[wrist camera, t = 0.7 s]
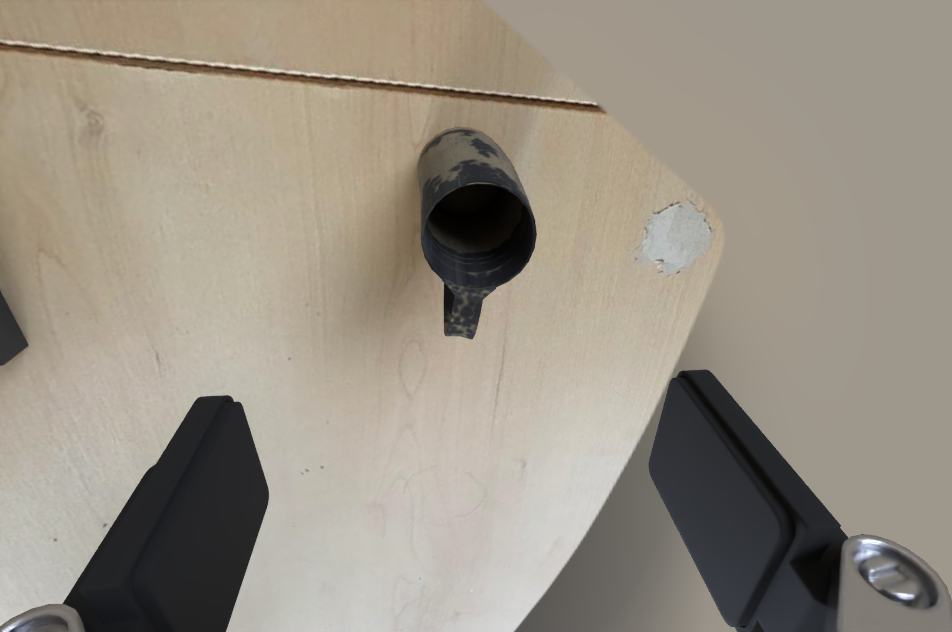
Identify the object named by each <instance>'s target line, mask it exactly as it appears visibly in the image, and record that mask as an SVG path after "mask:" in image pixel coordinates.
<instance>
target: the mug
mask: <svg viewBox="0 0 952 632" xmlns="http://www.w3.org/2000/svg"><path fill="white" fill-rule="evenodd" d="M418 182H419V189H420V204H421V245H422V249H423V252H424V256H425V259H426V260H427V262H428V264H429V265H430V267H431V269H432V270H433V271H434V272H435V273H436V274H437V275H438V276H439V277H440V278H441V279H442V281H443V282H444V334H445V336H461V337H465V338H468V339H473V337H474V335H475V333H476V329H477V326H478V322H479V317H480V313H481V307H482V301H483V299H484V298H485V297H486V296H488V295H489V294H490V293H491V292H493V291H494V290H495V289H496V287H498V286H500V285H502V284H504V283H506V282H509V281H510V280H511V279H512V278H514V277H515V276H516V275H518V274H519V273H520V272H521V271H522V269H523V268H524V267H525V266H526V264H527V263H528V262H529V260H530V257H531V255H532V253H533V251H534V248H535V242H536V235H537V233H536V225H535V219H534V216H533V213H532V210H531V206H530V203H529V200H528V198H527V195H526V193H525V191H524V188H523V186H522V184H521V182H520V180H519V177H518V175H517V173H516V171H515V169H514V166H513V165H512V163H511V162H510V160H509V159H508V157H507V156H506V154H505V153H504V152H503V151H502V149H501V148H500V147H499V146H498V145H497V144H496V143H495V142H494V141H493V140H492V139H491V138H490V137H488V136H487V135H486V134H484V133H483V132H481V131H478V130H475V129H473V128H465V127H457V128H452V129H447V130H445V131H443V132H441V133H440V134H438V135H436V136H435V137H434V138H433V139H432V140H431V141H430V142H429V143H428V144H427V145H426V147H425V148H424V150H423V152H422V153H421V156H420V160H419V163H418Z"/></svg>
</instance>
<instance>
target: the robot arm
mask: <svg viewBox="0 0 952 632" xmlns="http://www.w3.org/2000/svg"><path fill="white" fill-rule="evenodd" d="M649 472H650V475H651V478H652V480H653V482H654V484H655V486H656V488H657V490H658V492H659V494H660V496H661V498H662V500H663V502H664V504H665V506H666V508H667V509H668V511H669V513H670V515H671V517H672V519H673V521H674V523H675V525H676V527H677V529H678V531H679V533H680V535H681V537H682V539H683V541H684V543H685V545H686V546H687V549H688V551H689V552H690V554H691V556H692V558H693V560H694V562H695V564H696V566H697V568H698V570H699V572H700V574H701V576H702V578H703V580H704V582H705V584H706V586H707V588H708V590H709V592H710V593H711V596H712V598H713V599H714V601H715V603H716V605H717V607H718V609H719V611H720V613H721V615H722V617H723V619H724V620H725V622H726V623H727V624H728V625H729V626H731V627H735V628H736V630H737V632H952V601H951V597H950V594H949V592H948V589H947V586H946V585H945V583H944V582H943V581H942V579H941V578H940V576H939V575H938V574H937V572H936V571H934V570H933V569H932V568H931V567H930V566H929V565H928V564H927V563H926V562H925V561H924V560H923V559H921V558H920V557H918V556H917V555H916V554H914V553H913V552H911V551H910V550H909V549H907V548H905V547H903V546H901V545H899V544H897V543H895V542H893V541H890V540H888V539H885V538H882V537H878V536H872V535H864V534H861V535H856V536H852V537H850V538H848V537H847V536H846V534H845V533H844V532H843V531H842V530H841V529H840V526H841V525H840V524H839V523H838V522H837V520H836V519H835V518H834V517H833V516H832V514H831V513H830V512H829V511H828V510H827V509H826V507H825V506H824V505H823V504H822V503H821V501H820V500H819V499H818V498H817V497H816V496H815V495H814V493H813V492H812V491H811V490H810V488H809V487H808V486H807V485H806V484H805V483H804V481H803V480H802V479H801V478H800V477H799V476H798V474H797V473H796V472H795V471H794V470H793V468H792V467H791V466H790V465H789V464H788V462H787V461H786V460H785V459H784V458H783V457H782V456H781V454H780V453H779V452H778V451H777V450H776V448H775V447H774V446H773V445H772V444H771V442H770V441H769V440H768V439H767V438H766V436H765V435H764V434H763V433H762V432H761V431H760V429H759V428H758V427H757V426H756V425H755V424H754V423H753V421H752V420H751V419H750V418H749V416H748V415H747V414H746V413H745V412H744V410H742V408H741V407H740V406H739V405H738V403H737V402H736V401H735V400H734V399H733V397H732V396H731V395H730V394H729V393H728V392H727V390H726V389H725V388H724V387H723V386H722V384H721V383H720V382H719V381H718V380H717V379H716V377H715V376H714V375H713V374H712V373H711V372H710V371H708V370H689V371H681V372H679V374H678V375H677V377H676V378H672V379H671V381H670V384H669V388H668V391H667V395H666V399H665V403H664V406H663V410H662V414H661V418H660V422H659V425H658V429H657V433H656V437H655V441H654V444H653V448H652V452H651V456H650V460H649ZM268 500H269V490H268V486H267V483H266V479H265V476H264V473H263V470H262V467H261V463H260V460H259V457H258V454H257V451H256V447H255V444H254V441H253V438H252V435H251V431H250V428H249V425H248V422H247V419H246V415H245V412H244V409H243V406H242V404H241V403H240V402H234V401H233V398H232V397H231V396H228V395H225V396H206V397H199V398H197V400H196V401H195V402H194V404H193V405H192V407H191V409H190V410H189V412H188V413H187V415H186V417H185V418H184V420H183V421H182V423H181V425H180V426H179V428H178V429H177V431H176V433H175V434H174V436H173V438H172V439H171V441H170V442H169V444H168V446H167V447H166V449H165V450H164V452H163V454H162V455H161V457H160V458H159V460H158V462H157V463H156V465H154V466H152V467H151V468H149V470H148V471H147V472H146V473H145V475H144V476H143V478H142V479H141V481H140V482H139V484H138V486H137V487H136V489H135V490H134V492H133V493H132V495H131V497H130V498H129V500H128V501H127V503H126V505H125V506H124V508H123V509H122V511H121V512H120V514H119V516H118V517H117V519H116V520H115V522H114V524H113V525H112V527H111V528H110V530H109V531H108V533H107V535H106V536H105V538H104V539H103V541H102V543H101V544H100V546H99V547H98V549H97V550H96V552H95V554H94V555H93V557H92V558H91V560H90V562H89V563H88V565H87V566H86V568H85V569H84V571H83V573H82V574H81V576H80V577H79V579H78V581H77V582H76V584H75V585H74V587H73V588H72V590H71V592H70V593H69V595H68V596H67V598H66V600H65V601H64V603H63V604H48V605H44V606H41V607H37V608H33V609H30V610H28V611H26V612H24V613H22V614H20V615H18V616H16V617H14V618H12V619H10V620H9V621H7V622H6V623H4V624H3V625H1V626H0V632H226V630H227V627H228V624H229V621H230V618H231V615H232V612H233V609H234V606H235V603H236V600H237V596H238V593H239V590H240V587H241V584H242V581H243V578H244V575H245V572H246V569H247V566H248V563H249V560H250V557H251V554H252V551H253V548H254V545H255V542H256V539H257V536H258V533H259V530H260V527H261V524H262V521H263V518H264V515H265V512H266V509H267V505H268Z"/></svg>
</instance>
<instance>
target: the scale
mask: <svg viewBox="0 0 952 632" xmlns="http://www.w3.org/2000/svg"><path fill="white" fill-rule="evenodd" d="M27 346H28V344H27V342H26V340H25V338H24V336H23V334H22V332H21V330H20V328H19V326H18V324H17V322H16V321H15V319H14V317H13V315H12V313H11V311H10V309H9V307H8V305H7V303H6V301H5V300H4V298H3V296H2V294H1V292H0V366H3V365H4V364H6V363H7V362H8V361H10V360H11V359H12V358H13V357H15V356H16V355H17V354H18V353H20V352H21V351H22V350H23V349H25V348H26V347H27Z"/></svg>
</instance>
